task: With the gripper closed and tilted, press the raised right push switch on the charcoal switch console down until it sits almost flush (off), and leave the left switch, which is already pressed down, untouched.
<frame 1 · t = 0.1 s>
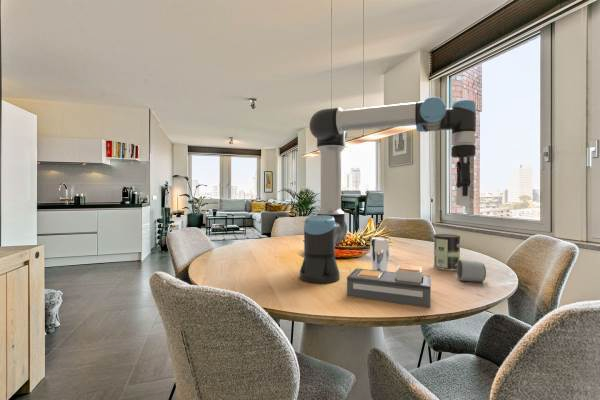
hand: (462, 205, 108), 28 cm above the table, tool pointing down, fingers open, 13 cm apart
switch console: (389, 295, 96), on the table
grey cylinder: (468, 280, 114), on the table
coffee can: (446, 268, 132), on the table
left switch: (370, 278, 99), point 5 cm above the table, slide at -3.0 cm
right switch: (409, 272, 94), point 8 cm above the table, slide at 0.0 cm
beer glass: (379, 278, 116), on the table
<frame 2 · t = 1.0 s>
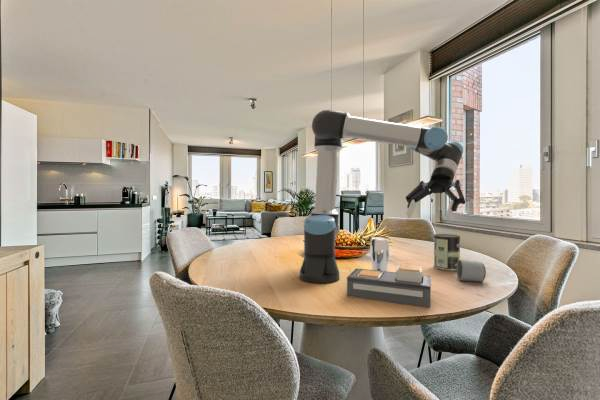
hand: (427, 216, 103), 24 cm above the table, tool tilted 45°, fingers open, 12 cm apart
nothing on the table moved.
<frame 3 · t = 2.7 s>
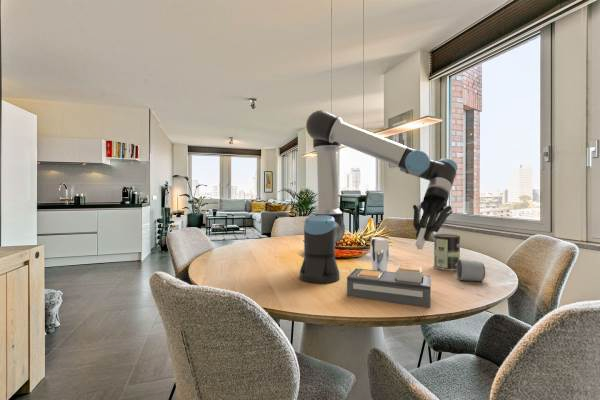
hand: (418, 246, 96), 15 cm above the table, tool tilted 45°, fingers closed
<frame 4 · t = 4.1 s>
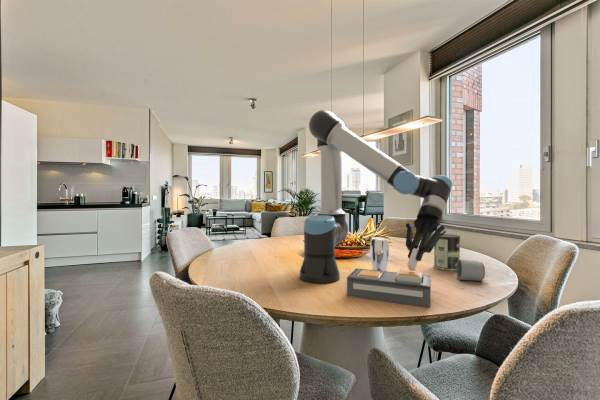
hand: (410, 268, 94), 9 cm above the table, tool tilted 45°, fingers closed
right switch: (409, 277, 94), point 6 cm above the table, slide at -1.5 cm, touching gripper
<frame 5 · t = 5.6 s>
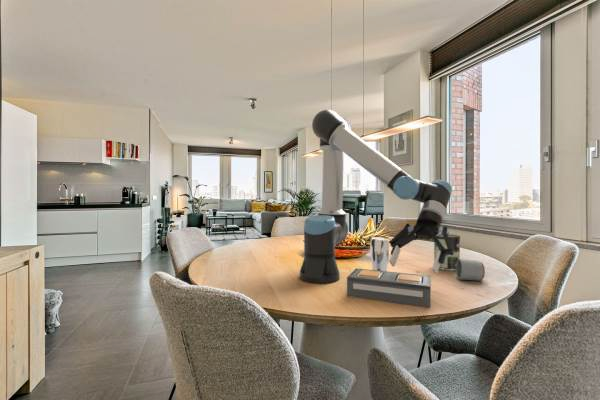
hand: (412, 267, 95), 9 cm above the table, tool tilted 45°, fingers open, 13 cm apart
right switch: (409, 283, 94), point 5 cm above the table, slide at -3.1 cm
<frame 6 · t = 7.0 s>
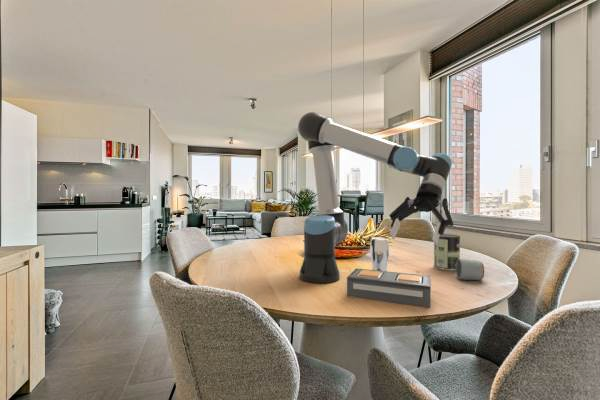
hand: (412, 239, 96), 18 cm above the table, tool tilted 40°, fingers open, 13 cm apart
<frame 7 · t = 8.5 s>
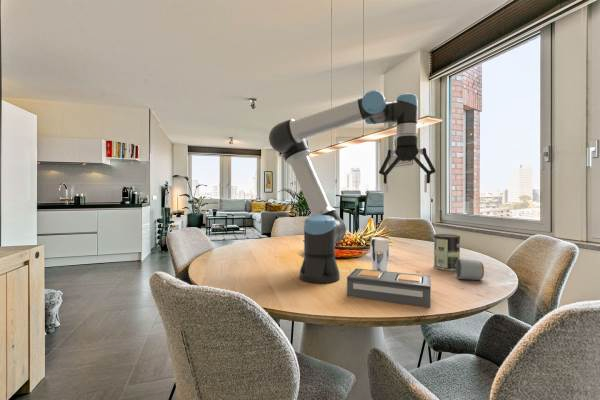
hand: (406, 192, 116), 33 cm above the table, tool pointing down, fingers open, 13 cm apart
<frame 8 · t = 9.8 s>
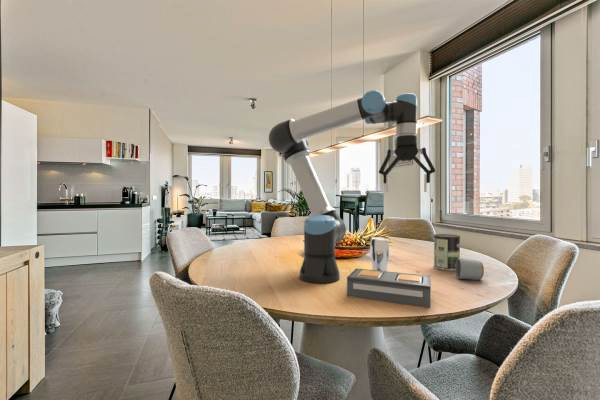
hand: (406, 192, 116), 33 cm above the table, tool pointing down, fingers open, 13 cm apart
at the end: right switch slide at -3.1 cm; left switch slide at -3.0 cm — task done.
